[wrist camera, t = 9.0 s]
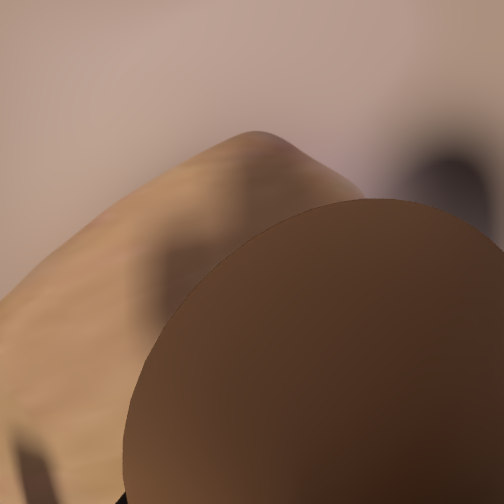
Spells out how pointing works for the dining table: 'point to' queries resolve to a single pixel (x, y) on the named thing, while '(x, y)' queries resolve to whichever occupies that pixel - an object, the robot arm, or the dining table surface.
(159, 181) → the dining table surface
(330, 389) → the brown cylinder
